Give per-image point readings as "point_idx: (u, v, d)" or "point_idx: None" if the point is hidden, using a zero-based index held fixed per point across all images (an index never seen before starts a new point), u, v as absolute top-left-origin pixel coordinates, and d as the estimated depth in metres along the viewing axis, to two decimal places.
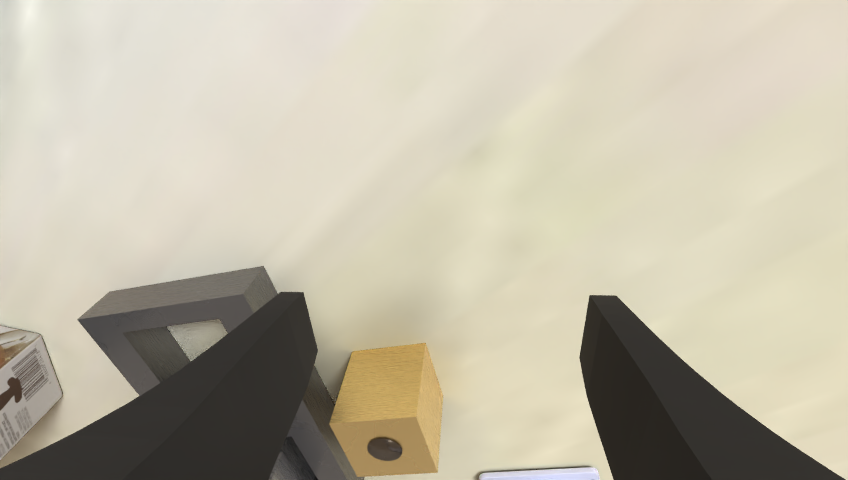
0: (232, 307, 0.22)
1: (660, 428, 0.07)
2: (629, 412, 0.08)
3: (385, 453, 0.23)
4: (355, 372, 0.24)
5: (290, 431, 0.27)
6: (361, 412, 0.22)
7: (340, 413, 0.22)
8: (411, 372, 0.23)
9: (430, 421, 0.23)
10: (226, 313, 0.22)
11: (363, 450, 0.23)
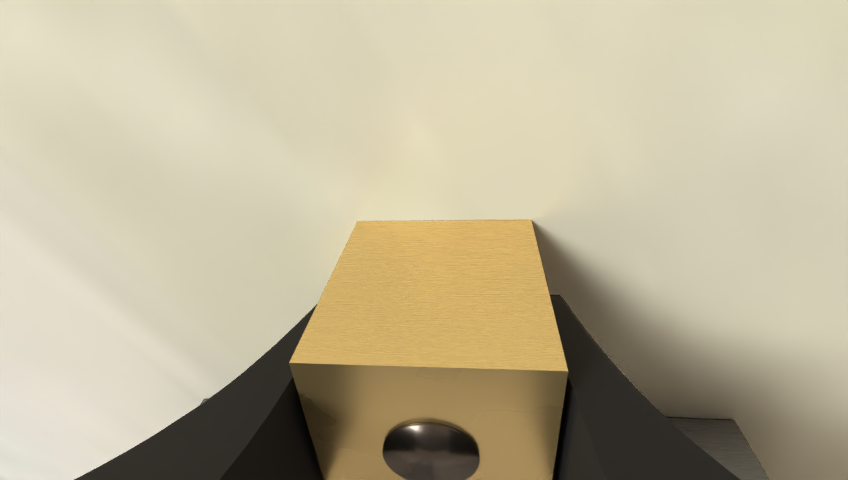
0: None
1: (576, 424, 0.07)
2: None
3: (451, 456, 0.08)
4: None
5: None
6: None
7: None
8: None
9: (438, 306, 0.08)
10: None
11: None
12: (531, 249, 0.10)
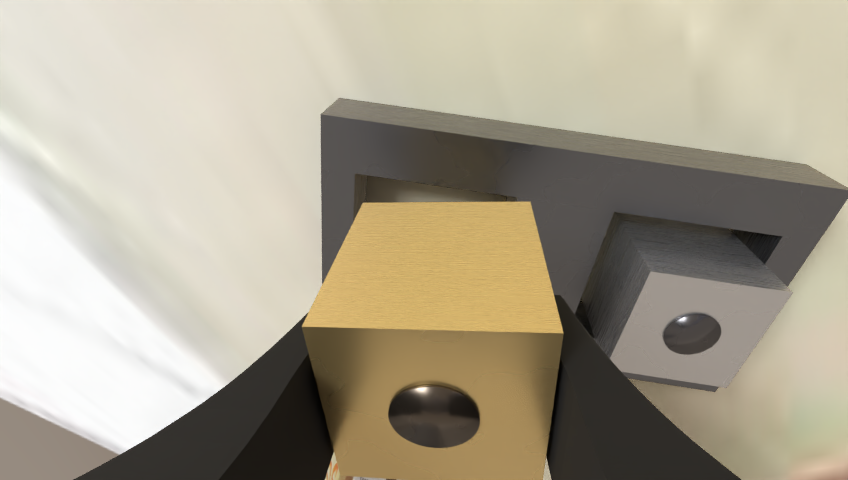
0: (340, 143, 0.16)
1: (577, 424, 0.07)
2: (559, 409, 0.08)
3: (453, 419, 0.09)
4: None
5: (602, 206, 0.16)
6: None
7: None
8: None
9: (442, 277, 0.09)
10: (348, 158, 0.16)
11: (438, 453, 0.09)
12: (530, 227, 0.10)
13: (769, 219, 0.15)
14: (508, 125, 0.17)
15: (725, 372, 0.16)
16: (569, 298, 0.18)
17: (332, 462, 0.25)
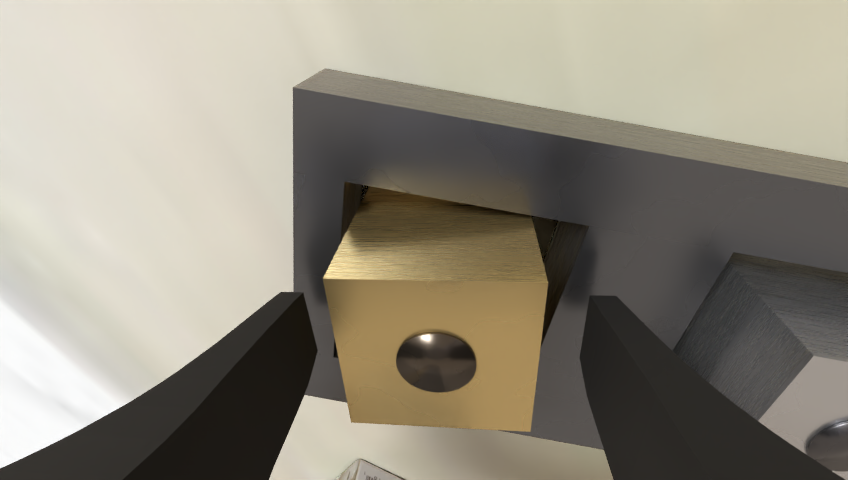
0: (322, 135, 0.10)
1: (660, 428, 0.07)
2: (630, 412, 0.08)
3: (452, 364, 0.10)
4: None
5: (717, 244, 0.10)
6: None
7: None
8: None
9: (443, 241, 0.10)
10: (335, 158, 0.10)
11: (439, 398, 0.10)
12: None
13: None
14: (574, 117, 0.11)
15: None
16: None
17: None
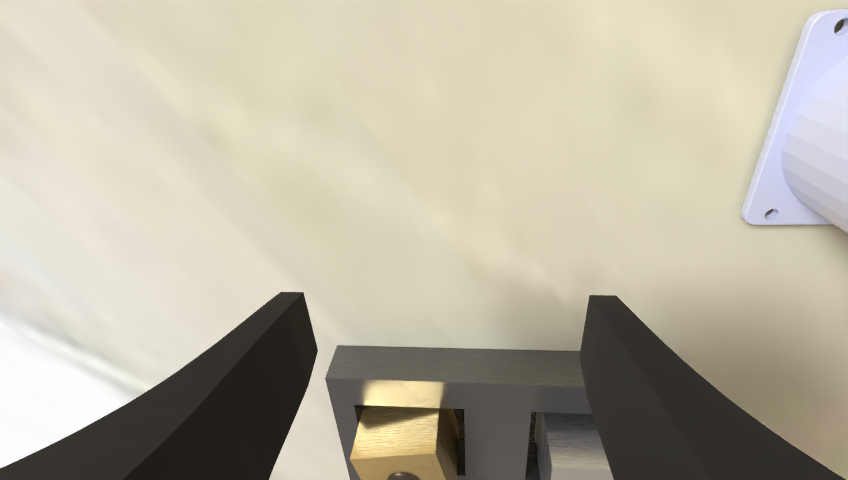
0: (340, 391, 0.23)
1: (660, 428, 0.07)
2: (629, 412, 0.08)
3: None
4: None
5: (522, 409, 0.23)
6: None
7: None
8: None
9: (398, 429, 0.23)
10: (347, 397, 0.24)
11: None
12: None
13: None
14: (452, 354, 0.24)
15: None
16: (519, 459, 0.25)
17: None
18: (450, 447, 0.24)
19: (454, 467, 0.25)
